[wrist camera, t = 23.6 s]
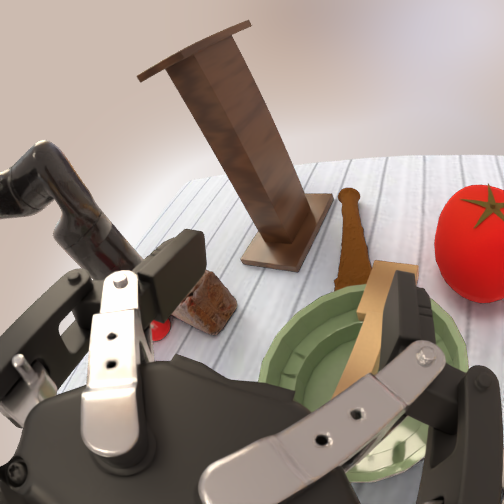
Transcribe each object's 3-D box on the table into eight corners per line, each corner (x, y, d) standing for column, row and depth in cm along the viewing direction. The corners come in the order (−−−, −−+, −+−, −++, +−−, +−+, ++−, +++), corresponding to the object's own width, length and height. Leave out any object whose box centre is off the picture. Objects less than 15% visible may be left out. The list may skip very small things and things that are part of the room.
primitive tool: (378, 296, 35) (375, 278, 33) (335, 304, 37) (328, 287, 35) (361, 199, 48) (357, 182, 46) (330, 207, 50) (324, 190, 48)
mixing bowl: (253, 445, 29) (221, 431, 24) (322, 307, 38) (307, 272, 33) (418, 502, 17) (424, 507, 13) (470, 331, 26) (481, 295, 22)
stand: (243, 264, 50) (125, 82, 30) (284, 198, 57) (204, 39, 37) (298, 272, 44) (180, 50, 23) (333, 198, 51) (258, 16, 31)
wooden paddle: (328, 506, 16) (322, 508, 15) (278, 484, 19) (268, 483, 18) (418, 275, 27) (418, 260, 25) (376, 269, 30) (373, 255, 28)
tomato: (523, 327, 23) (552, 267, 16) (424, 311, 31) (426, 249, 24) (522, 234, 30) (533, 171, 23) (441, 224, 38) (439, 161, 31)
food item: (160, 313, 50) (123, 276, 44) (188, 277, 53) (156, 237, 47) (214, 343, 41) (172, 302, 35) (246, 297, 44) (212, 251, 38)
